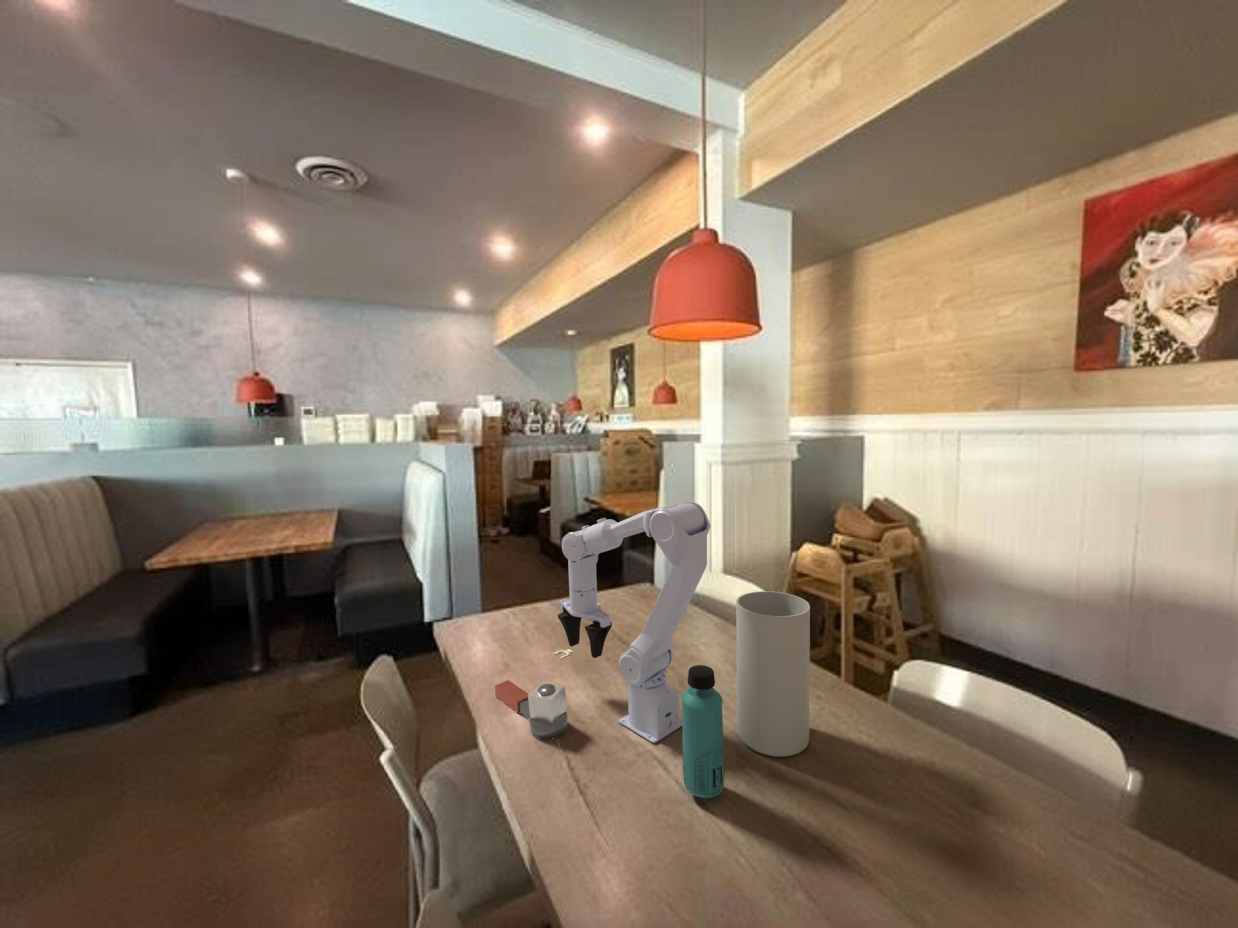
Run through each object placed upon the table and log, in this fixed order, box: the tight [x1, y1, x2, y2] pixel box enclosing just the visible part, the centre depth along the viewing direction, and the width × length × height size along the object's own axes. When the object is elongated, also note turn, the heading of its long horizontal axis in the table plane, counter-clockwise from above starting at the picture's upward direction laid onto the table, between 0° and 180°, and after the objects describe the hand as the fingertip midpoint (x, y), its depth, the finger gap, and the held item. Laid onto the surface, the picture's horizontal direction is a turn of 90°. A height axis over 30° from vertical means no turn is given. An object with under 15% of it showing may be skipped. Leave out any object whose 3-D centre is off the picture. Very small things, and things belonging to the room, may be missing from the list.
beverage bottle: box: [680, 664, 726, 799], centre depth 80 cm, size 6×7×20 cm
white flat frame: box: [553, 648, 574, 659], centre depth 129 cm, size 25×17×1 cm
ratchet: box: [494, 679, 568, 740], centre depth 103 cm, size 21×7×5 cm, turn 43°
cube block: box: [528, 679, 568, 726], centre depth 98 cm, size 5×5×5 cm
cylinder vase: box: [735, 590, 811, 758], centre depth 93 cm, size 12×12×25 cm
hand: (585, 650), depth 109 cm, fingers open, 7 cm apart
